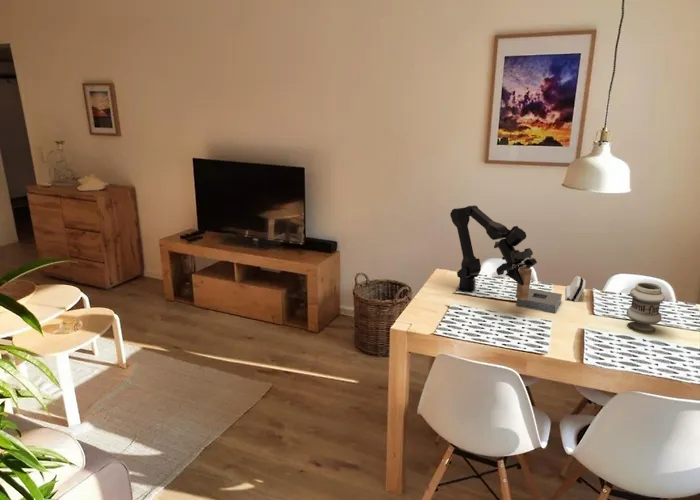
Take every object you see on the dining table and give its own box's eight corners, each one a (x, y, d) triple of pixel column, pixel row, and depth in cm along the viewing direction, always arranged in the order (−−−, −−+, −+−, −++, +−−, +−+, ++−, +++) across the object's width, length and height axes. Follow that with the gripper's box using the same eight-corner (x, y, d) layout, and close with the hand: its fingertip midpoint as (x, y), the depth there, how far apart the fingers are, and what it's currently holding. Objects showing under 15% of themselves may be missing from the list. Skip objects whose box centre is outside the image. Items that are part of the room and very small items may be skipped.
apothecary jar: (617, 324, 205) (624, 282, 200) (638, 320, 210) (646, 278, 205) (644, 336, 194) (652, 292, 189) (665, 331, 199) (674, 288, 194)
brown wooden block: (515, 297, 213) (519, 268, 209) (521, 296, 215) (525, 266, 211) (522, 300, 210) (525, 270, 206) (527, 298, 212) (531, 269, 208)
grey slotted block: (516, 305, 223) (517, 298, 222) (524, 294, 236) (525, 287, 235) (554, 313, 215) (555, 305, 214) (560, 301, 228) (561, 294, 227)
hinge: (565, 288, 245) (575, 271, 241) (574, 293, 243) (585, 275, 240) (564, 300, 230) (575, 281, 226) (575, 305, 229) (586, 286, 225)
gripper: (504, 244, 204) (522, 278, 198) (536, 239, 214) (554, 271, 208) (488, 258, 213) (505, 291, 207) (519, 252, 222) (536, 284, 216)
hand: (526, 284), depth 209 cm, fingers closed on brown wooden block, 3 cm apart
